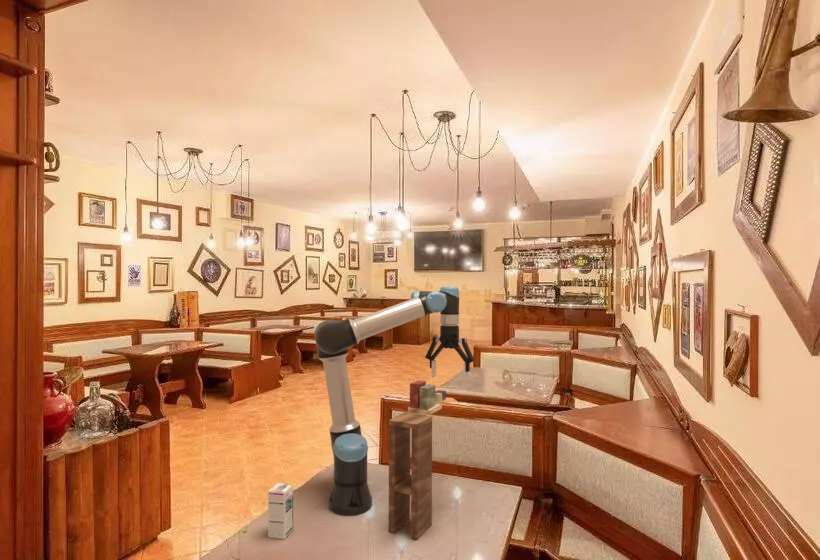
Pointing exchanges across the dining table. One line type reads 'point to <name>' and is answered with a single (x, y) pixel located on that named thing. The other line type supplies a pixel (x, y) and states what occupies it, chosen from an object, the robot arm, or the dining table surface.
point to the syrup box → (280, 511)
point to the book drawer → (425, 398)
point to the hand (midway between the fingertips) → (449, 378)
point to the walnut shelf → (420, 473)
